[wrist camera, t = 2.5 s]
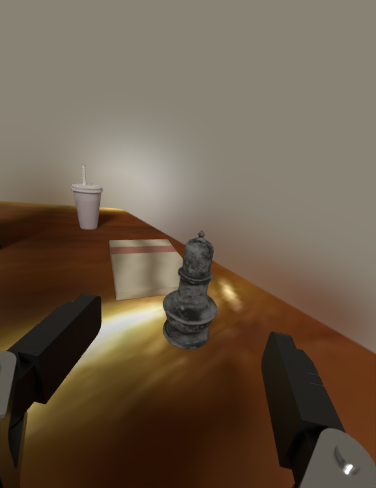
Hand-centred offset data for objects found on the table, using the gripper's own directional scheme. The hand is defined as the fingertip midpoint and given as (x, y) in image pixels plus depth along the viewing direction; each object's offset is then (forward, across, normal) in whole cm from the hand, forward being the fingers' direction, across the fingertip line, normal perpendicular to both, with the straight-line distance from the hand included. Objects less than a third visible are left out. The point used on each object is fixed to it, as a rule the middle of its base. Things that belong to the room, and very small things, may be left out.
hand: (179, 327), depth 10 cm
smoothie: (+38, +28, +10) cm, 49 cm away
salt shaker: (+12, 0, +11) cm, 16 cm away
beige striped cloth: (+25, +9, +10) cm, 29 cm away
